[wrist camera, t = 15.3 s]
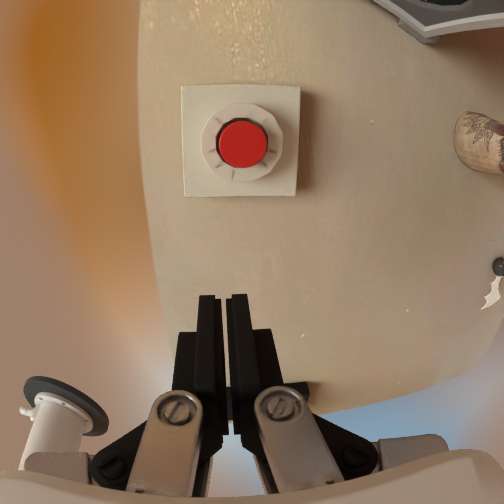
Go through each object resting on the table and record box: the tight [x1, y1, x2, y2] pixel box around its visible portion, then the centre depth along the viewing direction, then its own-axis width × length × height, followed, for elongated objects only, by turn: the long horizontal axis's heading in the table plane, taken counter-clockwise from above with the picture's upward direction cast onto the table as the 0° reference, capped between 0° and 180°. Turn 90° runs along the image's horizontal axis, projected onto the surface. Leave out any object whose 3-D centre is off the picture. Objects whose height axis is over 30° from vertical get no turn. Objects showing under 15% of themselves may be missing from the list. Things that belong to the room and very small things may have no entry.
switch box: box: [181, 84, 301, 198], centre depth 24 cm, size 10×10×4 cm
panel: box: [226, 382, 310, 420], centre depth 42 cm, size 14×9×3 cm, turn 89°
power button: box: [219, 121, 267, 168], centre depth 22 cm, size 4×4×2 cm
